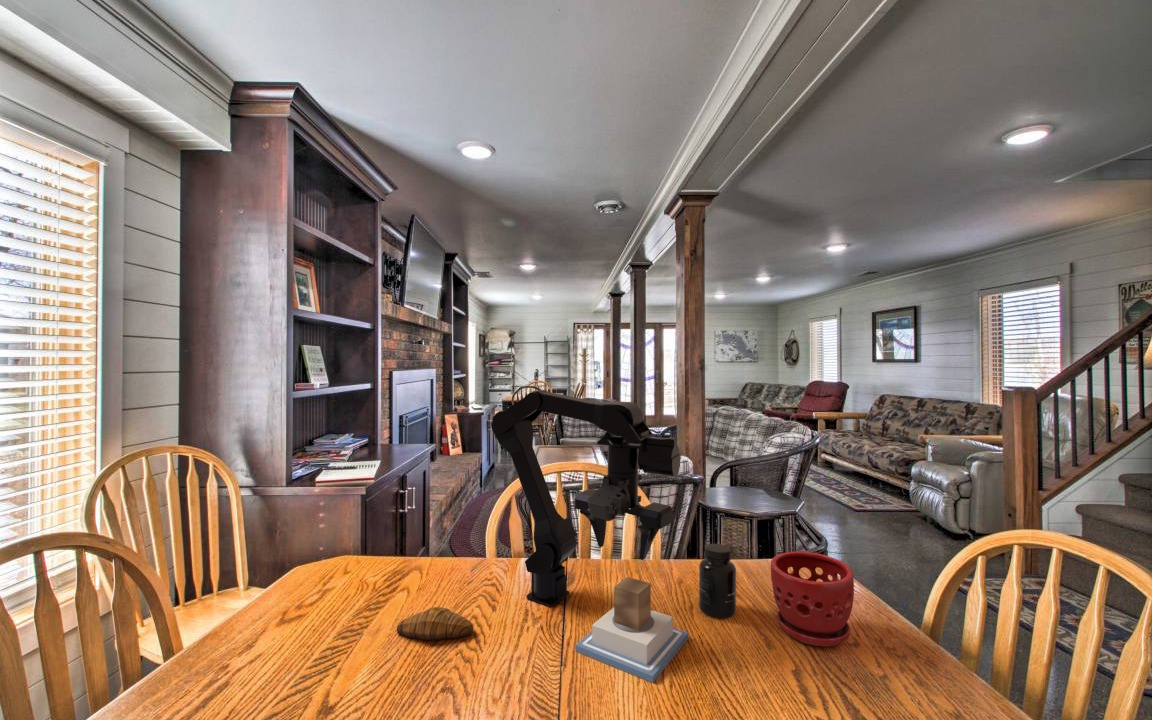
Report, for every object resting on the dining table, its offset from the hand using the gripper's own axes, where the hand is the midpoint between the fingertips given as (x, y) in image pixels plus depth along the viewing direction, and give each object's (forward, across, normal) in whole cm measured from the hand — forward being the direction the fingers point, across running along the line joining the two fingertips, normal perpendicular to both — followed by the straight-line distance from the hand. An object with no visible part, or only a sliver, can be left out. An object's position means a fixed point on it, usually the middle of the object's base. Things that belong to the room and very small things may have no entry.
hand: (621, 552), depth 92 cm
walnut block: (+8, +7, -7) cm, 12 cm away
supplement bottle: (+12, +14, +12) cm, 22 cm away
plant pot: (+11, +30, +15) cm, 35 cm away
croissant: (+13, -23, -25) cm, 36 cm away
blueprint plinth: (+12, +7, -7) cm, 15 cm away
